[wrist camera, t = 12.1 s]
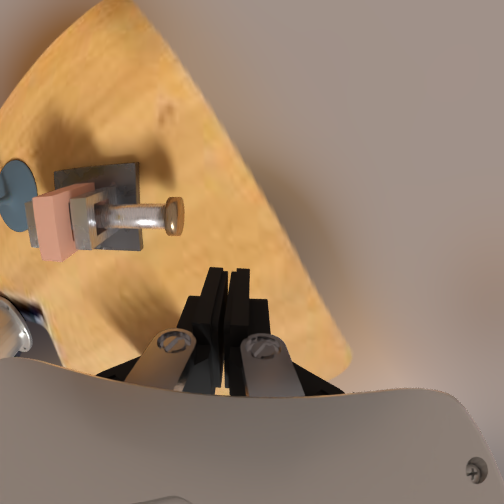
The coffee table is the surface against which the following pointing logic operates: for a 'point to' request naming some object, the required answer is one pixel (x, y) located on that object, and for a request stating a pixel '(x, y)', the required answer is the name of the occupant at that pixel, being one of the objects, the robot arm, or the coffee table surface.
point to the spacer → (57, 221)
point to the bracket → (106, 192)
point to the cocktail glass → (16, 194)
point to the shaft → (143, 216)
